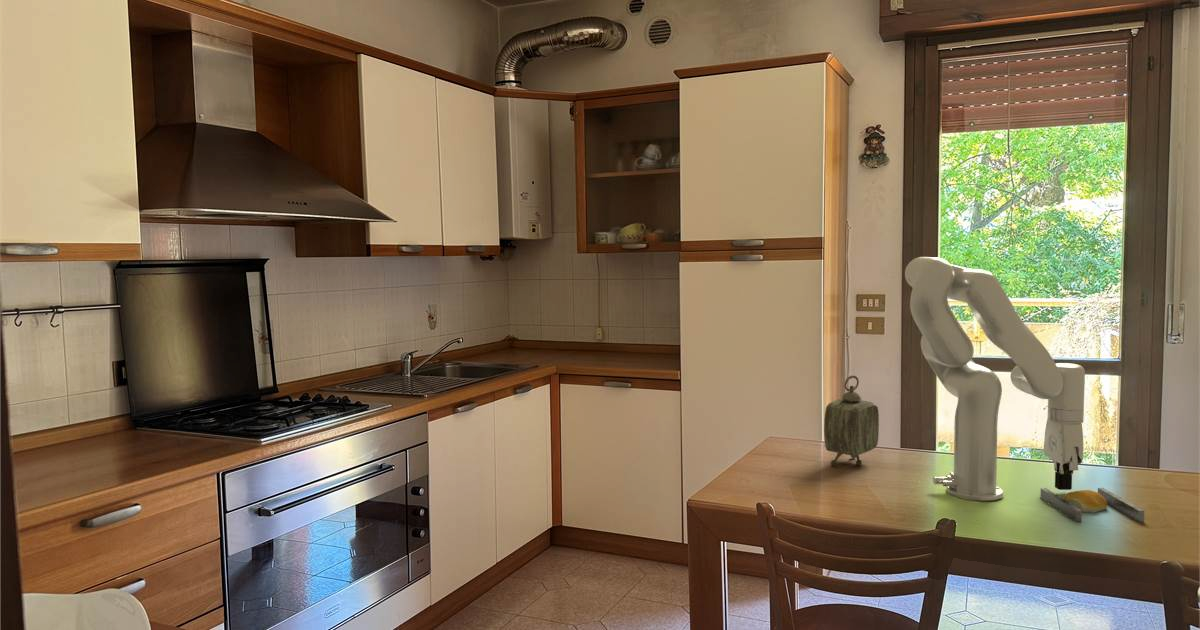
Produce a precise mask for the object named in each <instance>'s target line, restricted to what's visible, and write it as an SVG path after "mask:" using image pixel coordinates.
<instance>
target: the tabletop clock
mask: <svg viewBox="0 0 1200 630" xmlns="http://www.w3.org/2000/svg"><path fill="white" fill-rule="evenodd" d="M851 379H855V380H856V384H855V386H853V385H850V386H849V388H848V387H847V384H848V382H849V380H851ZM859 384H860V383H859V378H858V377H857V376H856V375H849V376H848V377H847V378H846V379H845V382H844V389H845V391H847V392H845V393H844V394H843V395H842V398H838V399H836V400H833V401H831V402H829V403H828V404H827V405H826V407H825V412H824V419H823V420H824V422H823V424H824V425H823V435H824V436H823V437H824V446H825V447H824V448H825V450H826V451H828V452H832V453H836V456H835V458H834V459H833V460H831V461H830V466H832V467H836V466H837V461H838V460H839V458H840V457H841V456H842V455H847V456H850V458H852V459H855V458H856V461H855V464H856V466H858V467H859V466H861V465H862V464H863V461H862V460H861V459H860V456H859V455H863V454H865V453H868V452H870V451H872V450H874V449H876V448H877V446H878V443H879V437H880V436H879V433H880V431H879V428H880V420H879V419H880V418H879V417H880V416H879V407H878V406H877V405H876V404H874V402H872V401H867V400H862V397H861V395H860V394H859V393H858V392H856V391H855V390H856V389H857V388H858V387H859Z"/></svg>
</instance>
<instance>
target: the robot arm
mask: <svg viewBox="0 0 1200 630" xmlns="http://www.w3.org/2000/svg"><path fill="white" fill-rule="evenodd" d="M904 277H905V280H906V283H907V284H908V285H909V286H910V287H911V288H912V289H911V294H910V302H909V307H910V308H909V310H910V313H911V317H912V318H913V321H914V322H915V324H916V327H918V330H919V331H920V334H921V335H922V336H921V339H920V348H921V352H922V354H923V357H924V358H925V360H926V361H927V363H928V364H929V367H930V368H931V369H932V371H933V372H934V373H935V375H936V377H937V378H938V380H939V382H940V383H941V384H942V386H943V387H944V388H945V390H946V391H947V392H948V393H950V394H951V395H952V396H954V397H956V398H957V403H956V404H957V405H956V408H955V412H954V413H955V414H954V422H953V423H954V425H953V430H954V435H953V438H954V439H953V441H954V442H953V447H954V448H953V471H949V474H948V475H946V476H933V477H932V481H933V482H932V483H933V485H941V486H942V487H946V491H947V493H949V494H950V495H952V496H954V497H955V498H961V499H965V500H968V501H969V500H971V501H979V502H980V501H981V502H982V501H983V502H986V501H988V502H989V501H997V500H1000V499H1001V498H1003V496H1004V490H1003V489H1002V488H1001V487H999V486H997V471H998V470H997V467H998V466H997V463H998V462H997V461H998V423H999V422H998V421H999V409H1000V404H1001V400H1002V395H1003V394H1002V392H1003V388H1002V382H1001V380H1000V378H999V377H998V375H997V374H996V373H995V372H994V371H993V370H991V369H990V368H989V367H988V368H987V367H985V366H983V365H981V364H978V363H976V362H975V361H974V360H973V357H974V353H975V352H974V345H973V342H972V340H971V339H970V337H969V336H968V334H967V333H966V331H965V330H964V329H963V327H962V324H960V322H959V320H958V319H957V317H956V316H955V314H954V312H953V310H952V309H951V307H950V305H949V301H948V300H952V301H953V300H954V301H958V302H962V303H966V304H967V306H968V308H969V310H970V311H971V312H972V314H973V315H974V318H975V319H976V321H977V322H978V324H979V325H980V327H981V329H982V332H983V333H984V335H985V336H986V338H987V339H988V340H989V341H990V342H991V343H992V344H993V345H994V346H996V347H997V348H998V349H1000V350H1001V351H1002V352H1004V353H1005V354H1006V355H1007V356H1008V357H1009V358H1010V359H1011V360H1012V361H1013V363H1015V366H1014V367H1013V369H1011V372H1010V381H1011V384H1012V385H1013V387H1015V388H1016V389H1018V390H1019V391H1021V392H1023V393H1025V394H1027V395H1031V396H1032V397H1036V398H1037V399H1041V400H1047V419H1046V423H1045V431H1044V440H1043V454H1044V455H1045V456H1046V457H1047V458H1048V459H1051V460H1052V462H1053V467H1054V468H1053V469H1054V472H1055V473H1054V488H1055V489H1057V490H1058V491H1059V490H1060V491H1062V490H1063V491H1064V490H1065V491H1069V490H1070V491H1071V490H1072V489H1073V485H1072V484H1073V475H1074V471H1079V465H1081V464H1082V463H1083V459H1084V431H1083V423H1084V417H1085V416H1084V415H1085V383H1086V382H1085V381H1086V379H1085V377H1086V372H1085V368H1084V367H1083V366H1082V365H1080V364H1076V363H1070V362H1069V363H1068V362H1058V363H1056V362H1055V360H1054V359H1053V357H1052V355H1051V354H1050V352H1049V351H1048V349H1047V348H1046V347H1045V346H1044V345H1043V343H1042V342H1041V341H1040V340H1039V339H1038V338H1037V336H1036V335H1035V334H1034V333H1033V331H1032V330H1031V329H1030V328H1029V327H1028V326H1027V325H1026V324H1025V322H1024V321H1023V320H1022V318H1021V317H1020V315H1019V314H1018V311H1017V310H1016V309H1015V306H1014V305H1013V303H1012V302H1011V300H1010V298H1009V296H1008V295H1007V293H1006V291H1005V290H1004V288H1003V286H1002V285H1001V283H1000V282H999V280H998V278H997V277H996V276H995V275H994V274H993V273H991V272H990V271H988V270H983V269H976V268H974V269H973V268H968V267H967V268H966V267H963V266H959V265H954V264H951V263H950V262H949V261H948V260H946V259H944V258H941V257H937V256H936V257H931V256H919V257H915V258H913V259H912V260H910V261H909V263H908V264H907V266H906V267H905V270H904Z"/></svg>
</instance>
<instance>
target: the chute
mask: <svg viewBox="0 0 1200 630" xmlns="http://www.w3.org/2000/svg"><path fill="white" fill-rule="evenodd" d="M1097 493H1099V494H1101V495H1102V496H1103V497H1104V498H1105V500H1106V502H1107V505H1109V506H1110V507H1112V508H1113V509H1115V510H1117V511H1119V512H1121V513H1123V514H1125V515H1126V516H1127V517H1129V518H1131V519H1132V520H1135V521H1136V522H1137V523H1140V522H1141V523H1142V522H1145V510H1144V509H1142V508H1140V507H1139V506H1137V505H1135V504H1133V503H1132V502H1129V501H1128V500H1126V499H1124V498H1122V497H1120V496H1119V495H1117V494H1115V493H1113V492H1112V491H1110V490H1108V489H1106V488H1104V487H1098V488H1097ZM1039 497H1040V500H1042V501H1043V502H1045V503H1046V504H1048V503H1049V504H1048V505H1050V506H1051V507H1053V508H1054V509H1055V510H1057V511H1058V512H1060V513H1062V514H1063V515H1065V516H1066V517H1067V518H1069V519H1071V520H1072V521H1074V522H1075V523H1082V513H1083V512H1082V511H1081V510H1080V509H1078V508H1076V507H1075V506H1073V505H1072V504H1070V503H1069V502H1067V501H1065V500H1064V499H1062V498H1063V497H1060V496H1059V495H1057V494H1056V493H1054V492H1053V491H1051V490H1050V489H1048V488H1046V487H1041V488H1040V496H1039Z"/></svg>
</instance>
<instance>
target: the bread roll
mask: <svg viewBox="0 0 1200 630" xmlns="http://www.w3.org/2000/svg"><path fill="white" fill-rule="evenodd" d="M1061 498H1062V499H1064V500H1065V501H1067V502H1069V503H1070V504H1072V505H1073V506H1075V507H1076V508H1078V509H1080V510H1081V511H1082V513H1096V512H1097V513H1098V512H1100V511H1104V510H1106V509H1107V508H1108V504H1107V502H1106V500H1105V498H1104V497H1103V496H1102V495H1101V494H1099V493H1098V491H1094V490H1092V489H1084V490H1083V489H1082V490H1074V491H1071V492H1067V493H1065V494H1064V495H1063V496H1062V497H1061Z"/></svg>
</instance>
